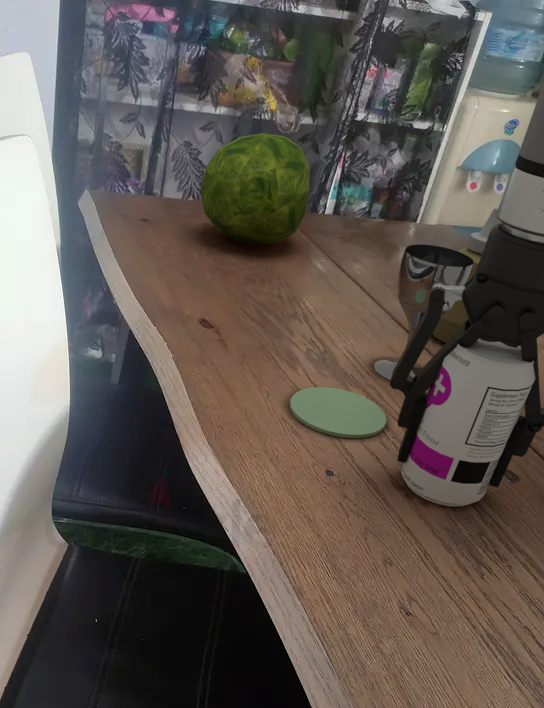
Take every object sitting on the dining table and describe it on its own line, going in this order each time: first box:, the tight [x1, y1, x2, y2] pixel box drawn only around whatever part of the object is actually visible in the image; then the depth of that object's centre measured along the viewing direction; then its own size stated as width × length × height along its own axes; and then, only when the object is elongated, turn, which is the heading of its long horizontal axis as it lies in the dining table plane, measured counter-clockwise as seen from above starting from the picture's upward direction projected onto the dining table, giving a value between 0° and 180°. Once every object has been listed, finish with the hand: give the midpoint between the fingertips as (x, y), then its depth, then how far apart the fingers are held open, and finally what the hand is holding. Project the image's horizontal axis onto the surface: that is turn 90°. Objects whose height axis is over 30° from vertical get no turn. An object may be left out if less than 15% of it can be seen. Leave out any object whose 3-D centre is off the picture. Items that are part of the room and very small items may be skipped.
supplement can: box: [400, 339, 535, 507], centre depth 69 cm, size 8×8×15 cm
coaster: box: [289, 386, 387, 439], centre depth 84 cm, size 11×11×1 cm
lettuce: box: [199, 132, 311, 246], centre depth 131 cm, size 19×23×18 cm
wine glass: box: [373, 244, 474, 381], centre depth 91 cm, size 8×8×15 cm
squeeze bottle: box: [432, 207, 502, 344], centre depth 101 cm, size 8×8×18 cm
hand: (447, 467), depth 73 cm, fingers closed on supplement can, 8 cm apart
